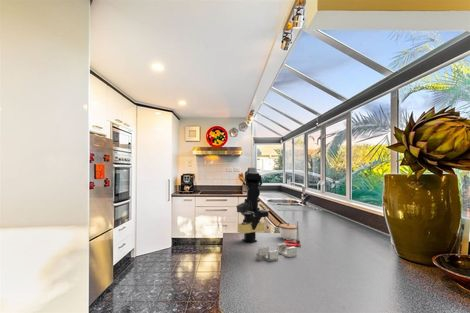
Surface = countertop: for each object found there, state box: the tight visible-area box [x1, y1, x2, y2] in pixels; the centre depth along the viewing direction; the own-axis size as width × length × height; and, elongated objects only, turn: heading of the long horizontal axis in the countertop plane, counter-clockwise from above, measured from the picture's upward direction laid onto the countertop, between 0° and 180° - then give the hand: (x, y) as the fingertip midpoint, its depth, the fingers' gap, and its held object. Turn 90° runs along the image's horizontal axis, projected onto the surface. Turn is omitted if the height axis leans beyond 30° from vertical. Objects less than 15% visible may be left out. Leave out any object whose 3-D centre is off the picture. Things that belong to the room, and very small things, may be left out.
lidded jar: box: [278, 222, 297, 241], centre depth 144 cm, size 11×11×9 cm
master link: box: [237, 220, 266, 235], centre depth 117 cm, size 4×14×5 cm, turn 124°
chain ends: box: [256, 242, 298, 263], centre depth 111 cm, size 8×23×4 cm, turn 124°
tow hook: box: [282, 221, 302, 247], centre depth 131 cm, size 8×13×9 cm
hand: (251, 229), depth 117 cm, fingers closed on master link, 3 cm apart
